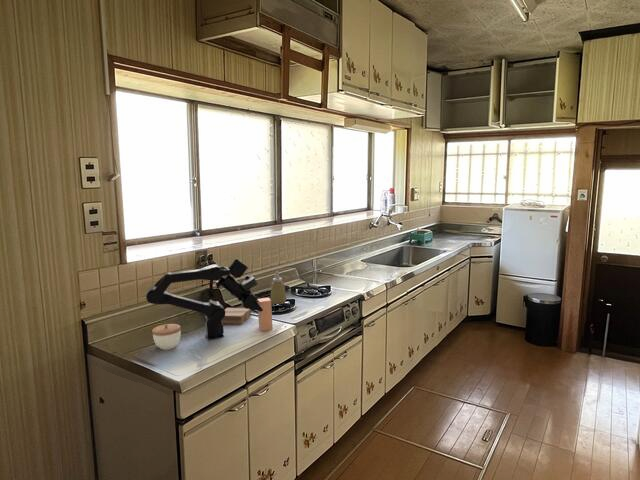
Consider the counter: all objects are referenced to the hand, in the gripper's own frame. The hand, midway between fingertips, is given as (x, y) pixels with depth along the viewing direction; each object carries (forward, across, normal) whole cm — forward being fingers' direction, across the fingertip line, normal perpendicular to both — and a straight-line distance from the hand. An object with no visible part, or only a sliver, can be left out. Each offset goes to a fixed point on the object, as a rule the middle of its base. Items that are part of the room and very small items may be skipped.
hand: (259, 307), depth 189 cm
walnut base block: (+1, +19, +13) cm, 23 cm away
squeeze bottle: (+18, +30, -4) cm, 36 cm away
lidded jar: (-21, -4, +34) cm, 40 cm away
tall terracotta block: (+8, 0, +5) cm, 10 cm away
